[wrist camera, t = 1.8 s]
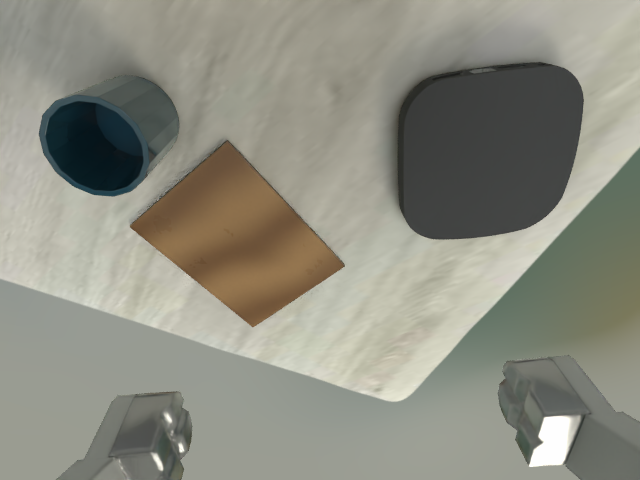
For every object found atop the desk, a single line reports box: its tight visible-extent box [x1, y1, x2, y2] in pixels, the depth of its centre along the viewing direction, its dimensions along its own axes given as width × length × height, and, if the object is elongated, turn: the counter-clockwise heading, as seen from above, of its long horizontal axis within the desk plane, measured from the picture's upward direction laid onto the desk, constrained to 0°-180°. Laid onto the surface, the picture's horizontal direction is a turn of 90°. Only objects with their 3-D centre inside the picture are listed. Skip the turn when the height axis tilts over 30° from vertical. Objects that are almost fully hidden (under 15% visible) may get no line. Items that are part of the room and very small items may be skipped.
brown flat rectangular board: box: [130, 141, 345, 327], centre depth 40 cm, size 17×13×1 cm
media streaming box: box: [398, 62, 584, 239], centre depth 35 cm, size 15×15×3 cm
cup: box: [39, 75, 179, 196], centre depth 30 cm, size 7×7×8 cm
